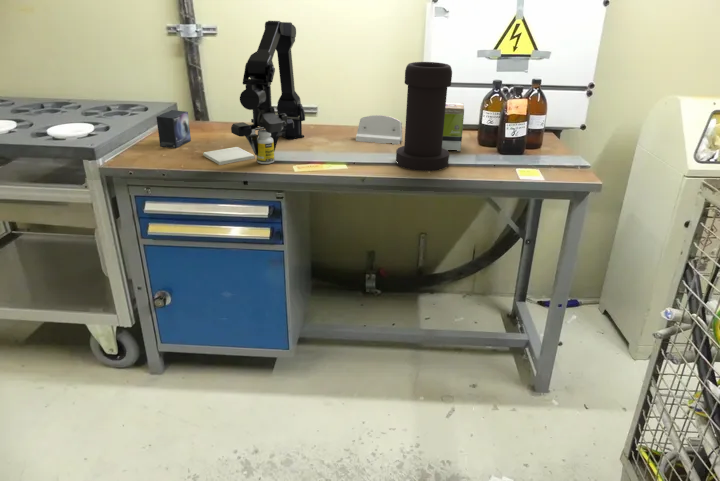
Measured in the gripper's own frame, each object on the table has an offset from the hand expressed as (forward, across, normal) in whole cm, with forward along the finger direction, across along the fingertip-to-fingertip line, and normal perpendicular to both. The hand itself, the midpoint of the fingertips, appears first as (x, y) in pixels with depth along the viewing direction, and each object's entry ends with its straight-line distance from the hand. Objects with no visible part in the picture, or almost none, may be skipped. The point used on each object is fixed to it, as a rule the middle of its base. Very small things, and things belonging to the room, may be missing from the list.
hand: (264, 153), depth 166 cm
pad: (+3, -7, +11) cm, 13 cm away
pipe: (+3, +40, -29) cm, 50 cm away
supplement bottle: (+3, 0, 0) cm, 3 cm away
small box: (+3, -15, +35) cm, 38 cm away
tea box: (+3, +58, -19) cm, 61 cm away
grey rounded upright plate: (+3, +47, 0) cm, 47 cm away
